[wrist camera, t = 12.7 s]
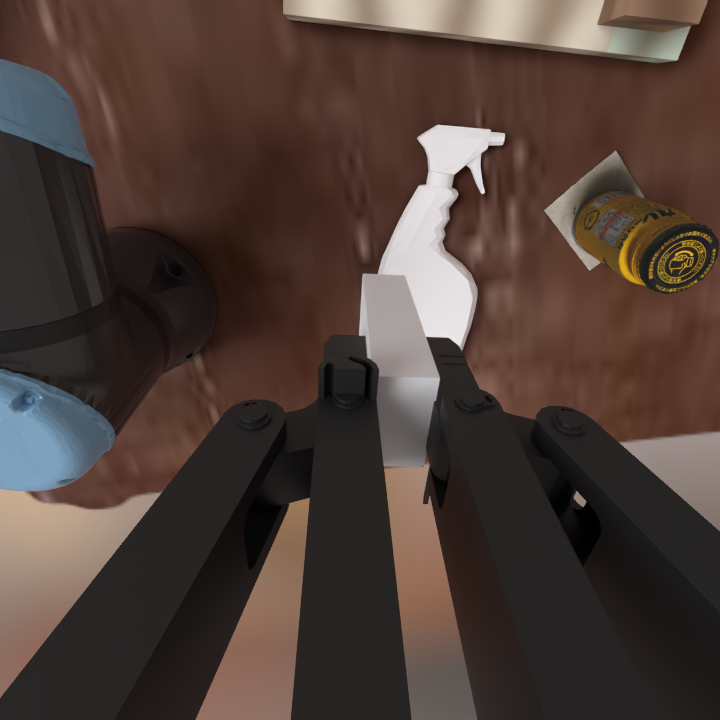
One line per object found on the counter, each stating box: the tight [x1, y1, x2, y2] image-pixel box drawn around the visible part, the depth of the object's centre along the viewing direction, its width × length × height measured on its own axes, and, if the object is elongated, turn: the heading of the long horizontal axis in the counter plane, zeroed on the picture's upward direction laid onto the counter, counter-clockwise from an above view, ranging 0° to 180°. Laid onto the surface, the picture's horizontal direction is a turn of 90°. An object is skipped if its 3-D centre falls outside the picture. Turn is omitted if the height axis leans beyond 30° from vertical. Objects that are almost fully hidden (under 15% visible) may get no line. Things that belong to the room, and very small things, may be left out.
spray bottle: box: [378, 125, 505, 351], centre depth 43 cm, size 3×11×24 cm
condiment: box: [544, 151, 719, 294], centre depth 36 cm, size 7×8×12 cm
